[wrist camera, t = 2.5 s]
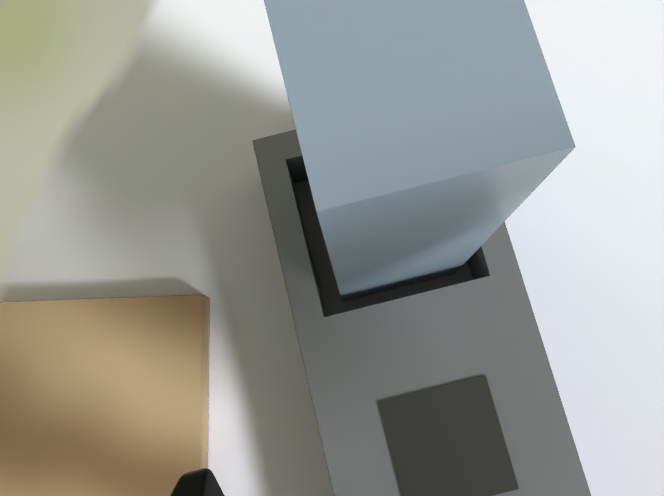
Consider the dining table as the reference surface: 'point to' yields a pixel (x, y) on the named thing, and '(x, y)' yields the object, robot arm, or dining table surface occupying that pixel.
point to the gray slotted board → (420, 366)
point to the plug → (416, 128)
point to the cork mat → (103, 395)
